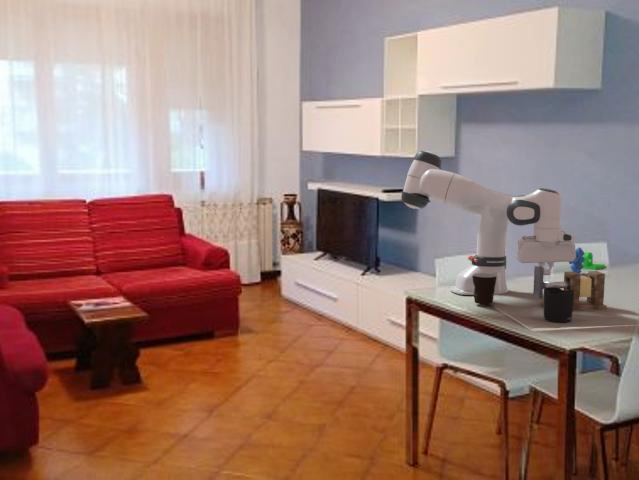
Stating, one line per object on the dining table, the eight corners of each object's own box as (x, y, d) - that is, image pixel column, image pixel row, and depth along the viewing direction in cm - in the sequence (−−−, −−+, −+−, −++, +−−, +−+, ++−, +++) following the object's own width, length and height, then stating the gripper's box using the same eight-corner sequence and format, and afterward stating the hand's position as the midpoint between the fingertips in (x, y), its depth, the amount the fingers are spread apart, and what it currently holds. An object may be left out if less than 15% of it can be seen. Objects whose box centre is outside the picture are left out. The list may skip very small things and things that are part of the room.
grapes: (571, 271, 323) (573, 245, 321) (587, 273, 319) (588, 246, 317) (562, 275, 314) (563, 248, 312) (578, 277, 310) (579, 249, 308)
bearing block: (552, 310, 248) (553, 275, 246) (540, 304, 256) (542, 271, 255) (606, 309, 250) (608, 274, 249) (593, 303, 259) (595, 270, 257)
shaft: (539, 298, 249) (540, 268, 247) (533, 295, 253) (534, 266, 252) (592, 296, 251) (594, 267, 250) (585, 294, 256) (587, 265, 254)
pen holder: (549, 323, 230) (551, 293, 228) (538, 316, 239) (539, 287, 238) (577, 323, 231) (579, 292, 229) (565, 316, 240) (566, 286, 239)
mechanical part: (595, 271, 326) (596, 254, 324) (582, 269, 330) (583, 252, 329) (606, 268, 334) (607, 251, 333) (594, 266, 338) (595, 249, 337)
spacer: (579, 297, 250) (580, 279, 249) (571, 293, 256) (571, 275, 255) (590, 296, 250) (591, 278, 249) (581, 293, 256) (582, 275, 256)
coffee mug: (491, 306, 254) (492, 278, 253) (467, 303, 259) (468, 275, 258) (501, 300, 264) (502, 273, 263) (479, 297, 269) (479, 271, 267)
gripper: (522, 237, 244) (521, 277, 246) (578, 235, 247) (577, 275, 249) (514, 235, 250) (513, 274, 252) (569, 233, 253) (568, 272, 255)
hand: (545, 274), depth 251 cm, fingers closed
